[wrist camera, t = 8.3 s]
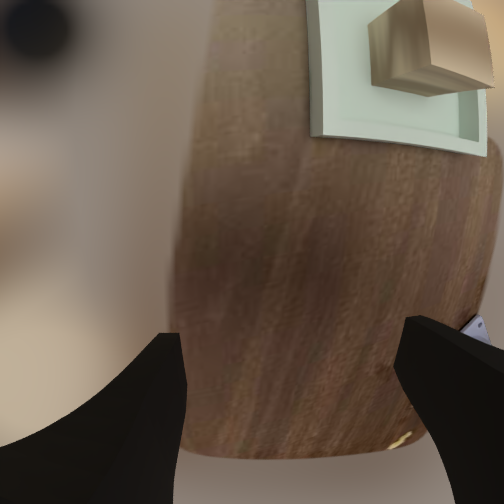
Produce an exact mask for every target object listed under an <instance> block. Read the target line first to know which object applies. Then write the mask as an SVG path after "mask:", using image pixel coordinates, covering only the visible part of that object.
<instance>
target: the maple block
mask: <svg viewBox="0 0 504 504" xmlns="http://www.w3.org/2000/svg"><path fill="white" fill-rule="evenodd" d="M367 26H368V37H369V50H370V66H371V86H377V87H383V88H388V89H393V90H398V91H403V92H408V93H412V94H417V95H421V96H425V97H432V96H437V95H443V94H450V93H456V92H463V91H471V90H479V89H487V88H495V87H494V76H493V67H492V59H491V52H490V45H489V39H488V34H487V29H486V23H485V19H484V15H482V14H480V13H478V12H477V11H475V10H473V9H471V8H469V7H467V6H465V5H463V4H460V3H458V2H456V1H454V0H400V1H398V2H397V3H396V4H394V5H393V6H391V7H390V8H389V9H387V10H386V11H385V12H383V13H382V14H381V15H379V16H378V17H377V18H375V19H374V20H373V21H372V22H370V23H369V24H368V25H367Z"/></svg>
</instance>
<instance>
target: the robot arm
mask: <svg viewBox="0 0 504 504" xmlns="http://www.w3.org/2000/svg"><path fill="white" fill-rule="evenodd" d="M393 367H394V369H395V372H396V374H397V377H398V379H399V381H400V384H401V386H402V388H403V390H404V392H405V394H406V395H407V397H408V399H409V400H410V402H411V404H412V405H413V407H414V409H415V410H416V412H417V413H418V415H419V417H420V418H421V420H422V422H423V423H424V425H425V427H426V428H427V430H428V432H429V433H430V435H431V437H432V439H433V441H434V443H435V445H436V447H437V449H438V452H439V454H440V456H441V459H442V461H443V464H444V467H445V470H446V472H447V476H448V478H449V481H450V484H451V488H452V492H453V496H454V500H455V504H504V350H501V349H499V348H496V347H494V346H492V345H491V343H490V339H489V336H488V333H487V330H486V327H485V324H484V321H483V318H482V316H480V315H476V316H475V317H474V318H473V319H472V320H471V321H470V322H469V323H468V324H467V325H466V326H465V327H464V328H463V329H462V330H461V331H458V330H455V329H453V328H451V327H449V326H447V325H445V324H442V323H440V322H438V321H435V320H433V319H430V318H428V317H424V316H421V315H419V316H412V317H406V319H405V323H404V328H403V332H402V336H401V340H400V344H399V348H398V351H397V355H396V359H395V362H394V366H393ZM186 399H187V380H186V374H185V368H184V362H183V355H182V349H181V342H180V335H179V333H159V334H158V335H157V336H156V337H155V338H154V339H153V340H152V341H151V342H150V343H149V344H148V345H147V346H146V347H145V348H144V349H143V350H142V351H141V353H140V354H139V355H138V356H137V357H136V358H135V359H134V360H133V361H132V362H131V363H130V364H129V365H128V366H127V367H126V368H125V369H124V370H123V371H122V372H121V373H120V374H119V375H118V376H117V377H115V378H114V379H113V380H112V381H111V382H110V383H109V384H108V385H107V386H106V387H104V388H103V389H102V390H101V391H100V392H99V393H97V394H96V395H95V396H93V397H92V398H91V399H90V400H88V401H87V402H85V403H84V404H83V405H81V406H80V407H78V408H77V409H76V410H74V411H73V412H71V413H70V414H68V415H66V416H65V417H63V418H61V419H60V420H58V421H56V422H54V423H53V424H51V425H49V426H47V427H46V428H44V429H42V430H40V431H38V432H36V433H34V434H32V435H29V436H28V437H25V438H23V439H21V440H18V441H16V442H13V443H11V444H8V445H5V446H2V447H0V504H173V487H174V476H175V469H176V463H177V457H178V452H179V446H180V441H181V435H182V430H183V424H184V419H185V413H186Z"/></svg>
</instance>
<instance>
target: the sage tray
mask: <svg viewBox="0 0 504 504" xmlns="http://www.w3.org/2000/svg"><path fill="white" fill-rule="evenodd" d="M398 1H400V0H306V14H307V32H308V56H309V91H310V137H324V138H340V139H353V140H364V141H375V142H384V143H393V144H401V145H409V146H416V147H423V148H430V149H436V150H442V151H448V152H454V153H459V154H466V155H474V156H482V157H487V110H486V93H485V89H479V90H471V91H463V92H456V93H450V94H443V95H437V96H432V97H425V96H421V95H417V94H412V93H408V92H403V91H398V90H393V89H388V88H383V87H377V86H371V66H370V50H369V37H368V26H367V25H368V24H369V23H370V22H372V21H373V20H374V19H375V18H377V17H378V16H379V15H381V14H382V13H383V12H385V11H386V10H387V9H389V8H390V7H391V6H393V5H394V4H396V3H397V2H398ZM454 1H456V2H458V3H460V4H463V5H465V6H467V7H469V8H471V9H473V6H472V2H471V1H470V0H454Z"/></svg>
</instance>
